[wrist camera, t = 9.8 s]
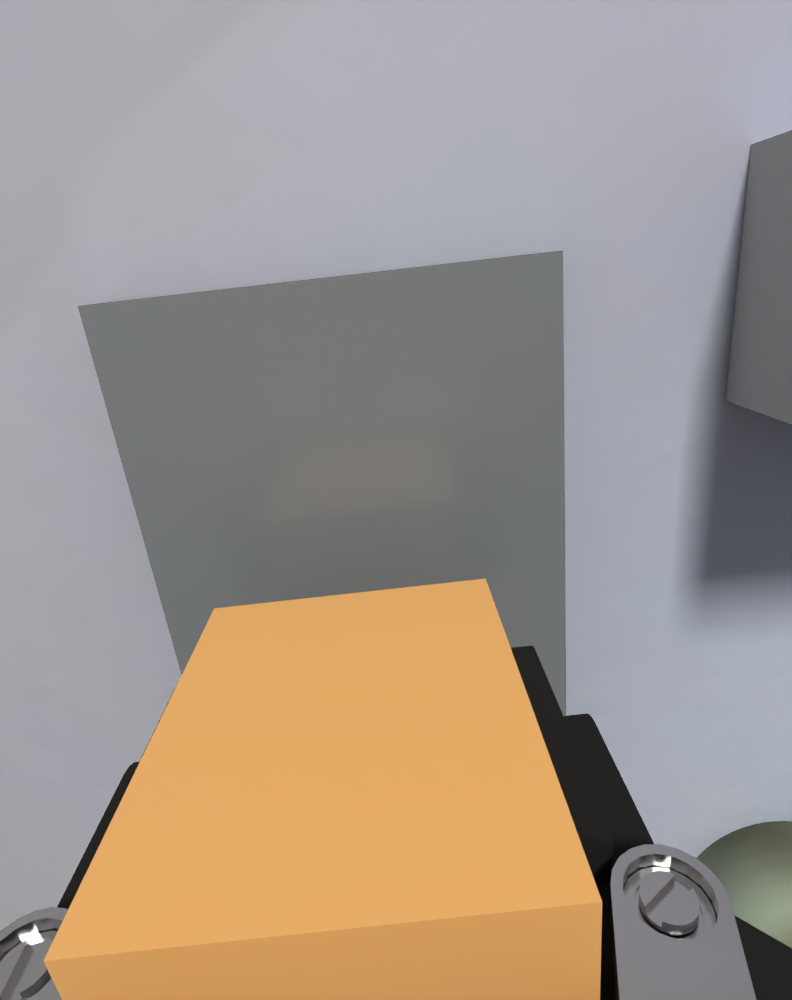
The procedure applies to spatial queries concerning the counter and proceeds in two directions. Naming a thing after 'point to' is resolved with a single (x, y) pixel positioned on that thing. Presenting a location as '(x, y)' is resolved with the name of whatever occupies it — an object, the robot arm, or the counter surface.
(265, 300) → the slate board
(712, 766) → the counter surface
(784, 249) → the grey block
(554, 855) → the orange block
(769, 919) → the sage cylinder
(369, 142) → the counter surface
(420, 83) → the counter surface
